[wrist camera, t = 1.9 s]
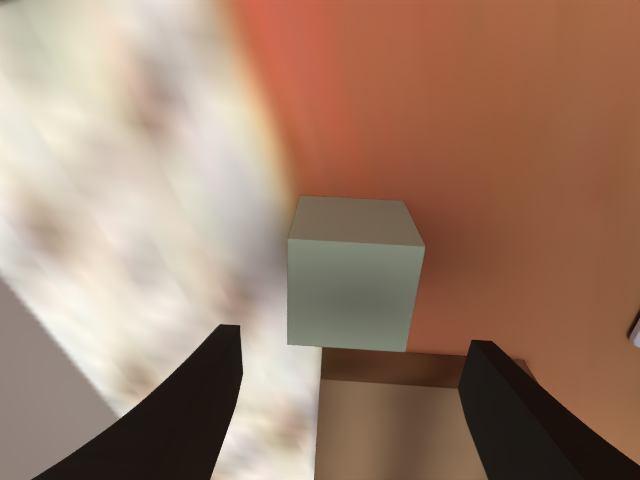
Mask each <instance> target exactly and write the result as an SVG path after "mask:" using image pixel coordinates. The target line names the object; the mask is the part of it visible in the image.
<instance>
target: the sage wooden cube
mask: <svg viewBox="0 0 640 480" xmlns="http://www.w3.org/2000/svg"><path fill="white" fill-rule="evenodd" d="M424 252H425V245H424V243H423V240H422V238H421V236H420V234H419V232H418V230H417V228H416V226H415V224H414V222H413V220H412V218H411V216H410V214H409V211H408V209H407V207H406V205H405V203H404V201H399V200H380V199H362V198H344V197H326V196H307V195H300V198H299V202H298V205H297V209H296V212H295V215H294V219H293V222H292V226H291V229H290V232H289V236H288V270H287V345H302V346H317V347H333V348H348V349H363V350H379V351H394V352H405V351H406V346H407V341H408V336H409V330H410V325H411V320H412V315H413V310H414V304H415V299H416V294H417V289H418V284H419V278H420V273H421V268H422V263H423V258H424Z"/></svg>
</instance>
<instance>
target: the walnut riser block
mask: <svg viewBox="0 0 640 480" xmlns="http://www.w3.org/2000/svg"><path fill="white" fill-rule="evenodd" d="M466 357H467V356H455V355H440V354H425V353H410V352H394V351H379V350H363V349H348V348H333V347H322V362H321V377H320V393H319V409H318V425H317V441H316V456H315V472H314V480H488V478H487V475H486V473H485V470H484V468H483V465H482V462H481V460H480V457H479V455H478V452H477V450H476V447H475V444H474V442H473V439H472V436H471V434H470V431H469V428H468V426H467V423H466V420H465V416H464V412H463V408H462V404H461V400H460V396H459V392H458V385H459V381H460V378H461V374H462V371H463V368H464V364H465V361H466ZM512 360H513V361H514V362H515V363H516V364H517V365H518V366H520V367H521V368H522V369H523V370H524V371H525V372H526V373H527V374H528V375H529V376H530V377H531V378H532V379H534V380H535V381H536V379H535V377H534V376H533V374H532V373H531V371H530V370H529V368H528V366H527V365H526V363H525V362H524V360H514V359H512ZM536 382H537V381H536ZM537 383H538V382H537Z"/></svg>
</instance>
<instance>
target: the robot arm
mask: <svg viewBox="0 0 640 480" xmlns="http://www.w3.org/2000/svg"><path fill="white" fill-rule="evenodd" d="M630 341H631V342H632V343H633V344H634V345H635V346H636V347H640V319H639V321H638V322H637V324H636V326H635V328H634V330H633V332H632V334H631V335H630ZM242 376H243V366H242V351H241V336H240V325H225V324H220V325H219V326H218V327H217V328H216V329H215V330H214V331H213V332H212V333H211V334H210V335H209V336H208V337H207V338H206V340H205V341H204V342H203V343H202V344H201V345H200V346H199V347H198V348H197V349H196V350H195V351H194V352H193V353H192V354H191V355H190V356H189V357H188V358H187V359H186V360H185V361H184V362H183V363H182V364H181V365H180V366H179V367H178V368H177V369H176V370H175V371H174V372H173V373H172V374H171V375H170V376H169V377H168V378H167V379H166V380H165V381H164V382H163V383H161V384H160V385H159V386H158V387H157V388H156V389H155V390H154V391H153V392H152V393H150V394H149V395H148V396H147V397H146V398H145V399H144V400H142V401H141V402H140V403H139V404H138V405H137V406H135V407H134V408H133V409H132V410H130V411H129V412H128V413H127V414H125V415H124V416H123V417H122V418H120V419H119V420H118V421H117V422H115V423H114V424H113V425H112V426H110V427H109V428H107V429H106V430H105V431H103V432H102V433H101V434H99V435H98V436H96V437H95V438H94V439H92V440H91V441H89V442H88V443H86V444H85V445H84V446H82V447H81V448H79V449H78V450H76V451H75V452H74V453H72V454H71V455H69V456H68V457H66V458H65V459H63V460H62V461H60V462H58V463H57V464H56V465H54V466H52V467H51V468H49V469H47V470H46V471H44V472H43V473H41V474H40V475H38V476H36V477H35V478H33V479H32V480H210V478H211V475H212V473H213V470H214V467H215V464H216V461H217V458H218V455H219V453H220V450H221V447H222V444H223V441H224V438H225V436H226V433H227V430H228V427H229V424H230V421H231V418H232V415H233V413H234V410H235V407H236V403H237V399H238V394H239V390H240V386H241V381H242ZM458 392H459V396H460V400H461V404H462V408H463V412H464V416H465V420H466V423H467V426H468V428H469V431H470V434H471V436H472V439H473V442H474V444H475V447H476V450H477V452H478V455H479V457H480V460H481V462H482V465H483V468H484V470H485V473H486V475H487V478H488V480H640V466H639V465H638V464H636V463H635V462H634V461H632V460H631V459H630V458H628V457H627V456H626V455H624V454H623V453H622V452H620V451H619V450H618V449H616V448H615V447H614V446H612V445H611V444H610V443H608V442H607V441H606V440H604V439H603V438H602V437H600V436H599V435H598V434H597V433H595V432H594V431H593V430H592V429H590V428H589V427H588V426H587V425H585V424H584V423H583V422H582V421H581V420H579V419H578V418H577V417H576V416H575V415H573V414H572V413H571V412H570V411H569V410H567V409H566V408H565V407H564V406H563V405H562V404H560V403H559V402H558V401H557V400H556V399H555V398H554V397H552V396H551V395H550V394H549V393H548V392H547V391H546V390H545V389H543V388H542V387H541V386H540V385H539V384H538V383H537V382H536V381H535V380H534V379H532V378H531V377H530V376H529V375H528V374H527V373H526V372H525V371H524V370H523V369H522V368H521V367H520V366H518V365H517V364H516V363H515V362H514V361H513V360H512V359H511V358H510V357H509V356H508V355H507V354H506V353H505V352H503V351H502V350H501V349H500V348H499V347H498V346H497V345H496V344H495V343H493V342H492V341H483V340H471V344H470V347H469V351H468V354H467V357H466V361H465V364H464V368H463V371H462V374H461V378H460V381H459V385H458Z"/></svg>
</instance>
